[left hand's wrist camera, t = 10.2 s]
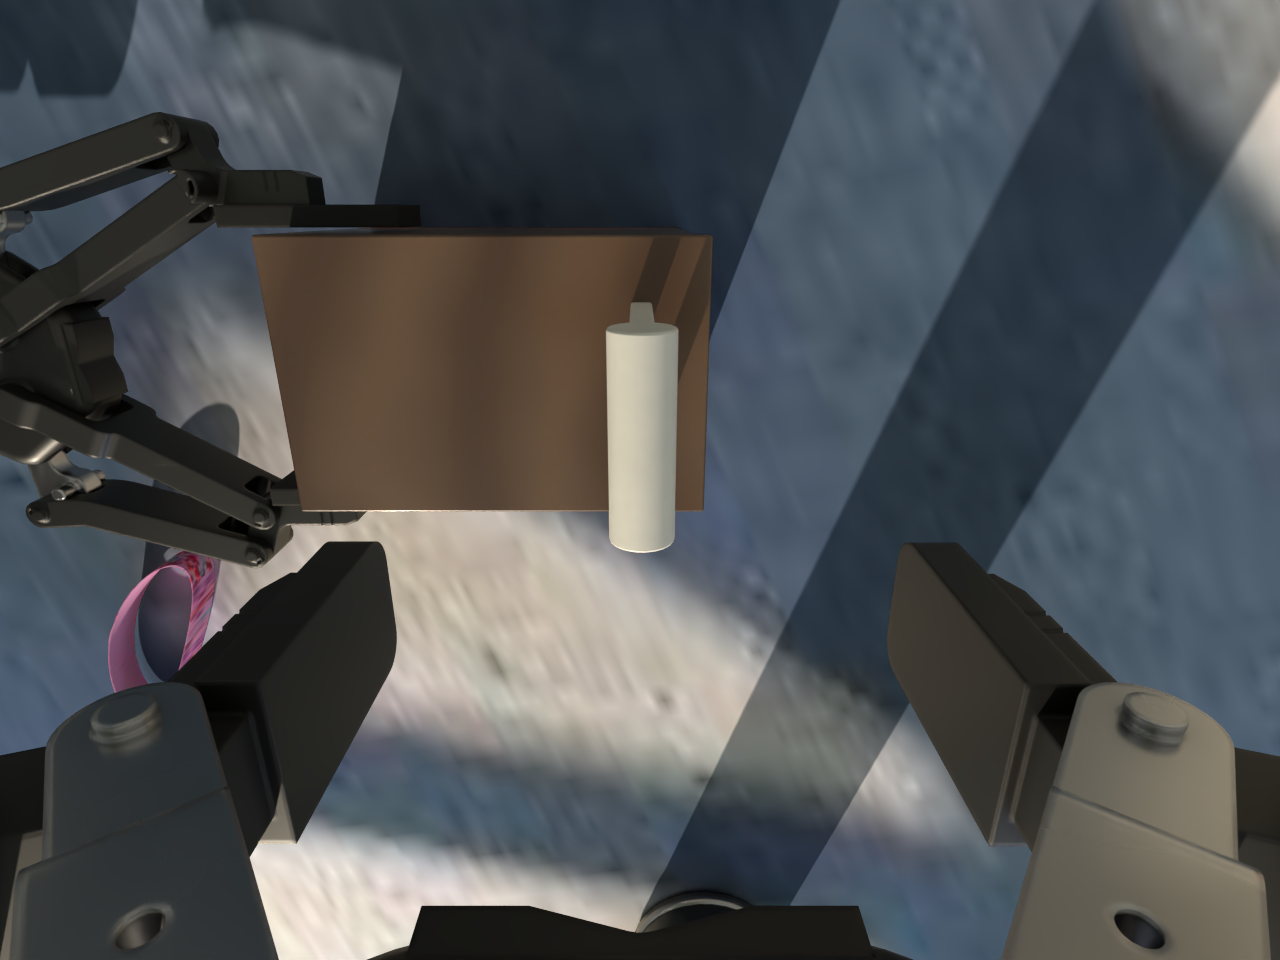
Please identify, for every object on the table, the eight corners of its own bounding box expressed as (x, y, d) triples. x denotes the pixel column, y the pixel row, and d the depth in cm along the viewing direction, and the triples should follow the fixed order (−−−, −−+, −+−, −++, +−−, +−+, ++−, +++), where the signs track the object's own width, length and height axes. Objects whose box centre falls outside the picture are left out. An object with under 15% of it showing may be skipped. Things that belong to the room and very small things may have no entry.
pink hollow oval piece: (152, 529, 38) (125, 548, 36) (225, 555, 39) (203, 574, 37) (119, 684, 42) (93, 709, 40) (187, 705, 42) (165, 730, 40)
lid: (709, 233, 24) (745, 244, 16) (701, 499, 28) (726, 617, 19) (269, 233, 24) (83, 245, 16) (315, 499, 28) (181, 618, 19)
